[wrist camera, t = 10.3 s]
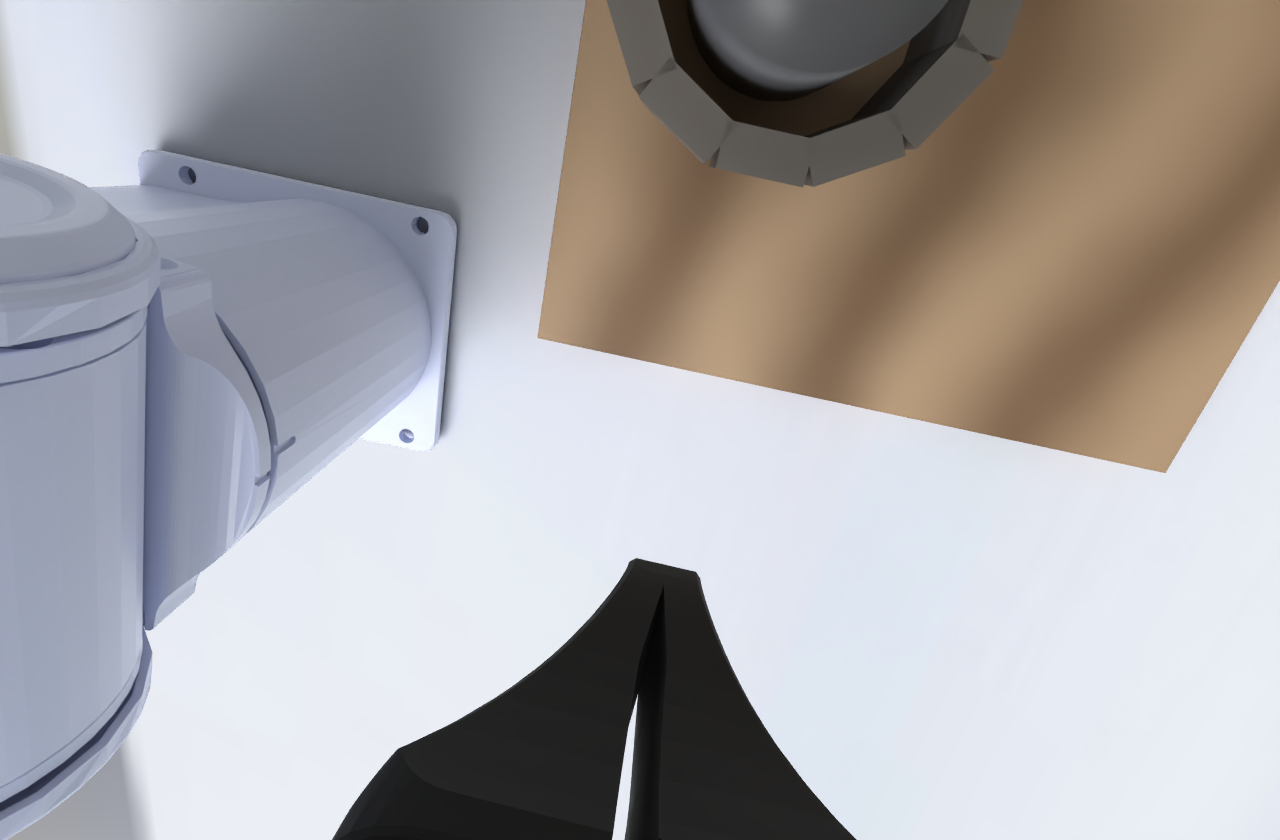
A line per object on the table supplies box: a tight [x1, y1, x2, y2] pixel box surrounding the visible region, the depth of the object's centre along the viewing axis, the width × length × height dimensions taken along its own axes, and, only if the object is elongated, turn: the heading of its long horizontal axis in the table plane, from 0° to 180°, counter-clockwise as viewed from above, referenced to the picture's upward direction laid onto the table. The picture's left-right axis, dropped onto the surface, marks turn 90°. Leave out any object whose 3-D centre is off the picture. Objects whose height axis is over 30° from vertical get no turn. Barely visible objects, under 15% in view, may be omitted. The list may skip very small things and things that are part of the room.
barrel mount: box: [538, 0, 1280, 473], centre depth 15 cm, size 20×16×4 cm
